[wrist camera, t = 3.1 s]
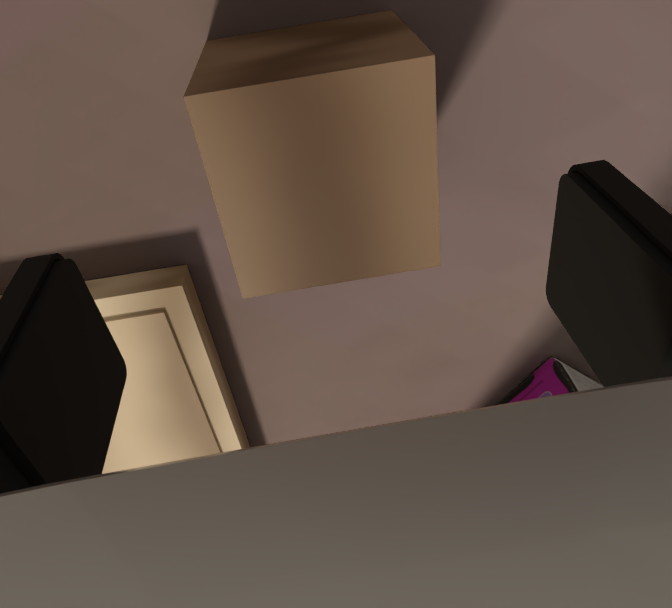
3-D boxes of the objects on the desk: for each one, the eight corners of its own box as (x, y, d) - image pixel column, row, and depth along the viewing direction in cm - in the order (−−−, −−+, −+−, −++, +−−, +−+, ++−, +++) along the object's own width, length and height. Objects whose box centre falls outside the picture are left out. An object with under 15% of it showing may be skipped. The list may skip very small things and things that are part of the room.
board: (186, 264, 23) (181, 287, 22) (267, 495, 32) (267, 521, 31) (-203, 328, 23) (-232, 355, 22) (-7, 540, 33) (-19, 568, 31)
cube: (391, 9, 18) (434, 55, 13) (402, 181, 22) (440, 265, 17) (206, 40, 18) (183, 96, 13) (248, 207, 22) (242, 298, 17)
